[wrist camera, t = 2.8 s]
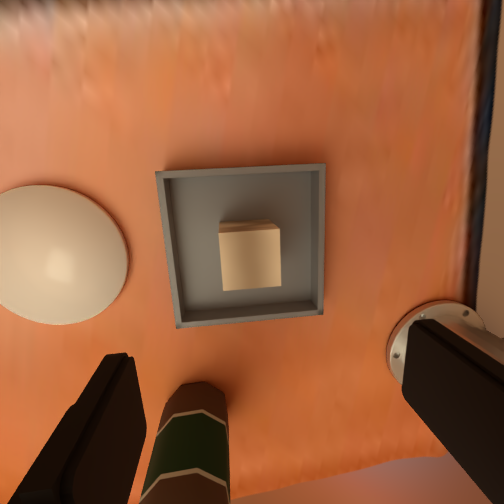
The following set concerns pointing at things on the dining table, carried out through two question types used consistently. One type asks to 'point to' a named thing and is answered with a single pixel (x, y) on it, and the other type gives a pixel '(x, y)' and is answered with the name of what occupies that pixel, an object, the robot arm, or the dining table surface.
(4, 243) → the off-white plate
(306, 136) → the dining table surface
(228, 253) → the birch block
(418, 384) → the robot arm
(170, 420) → the beer bottle
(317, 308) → the gray bin
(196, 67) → the dining table surface
